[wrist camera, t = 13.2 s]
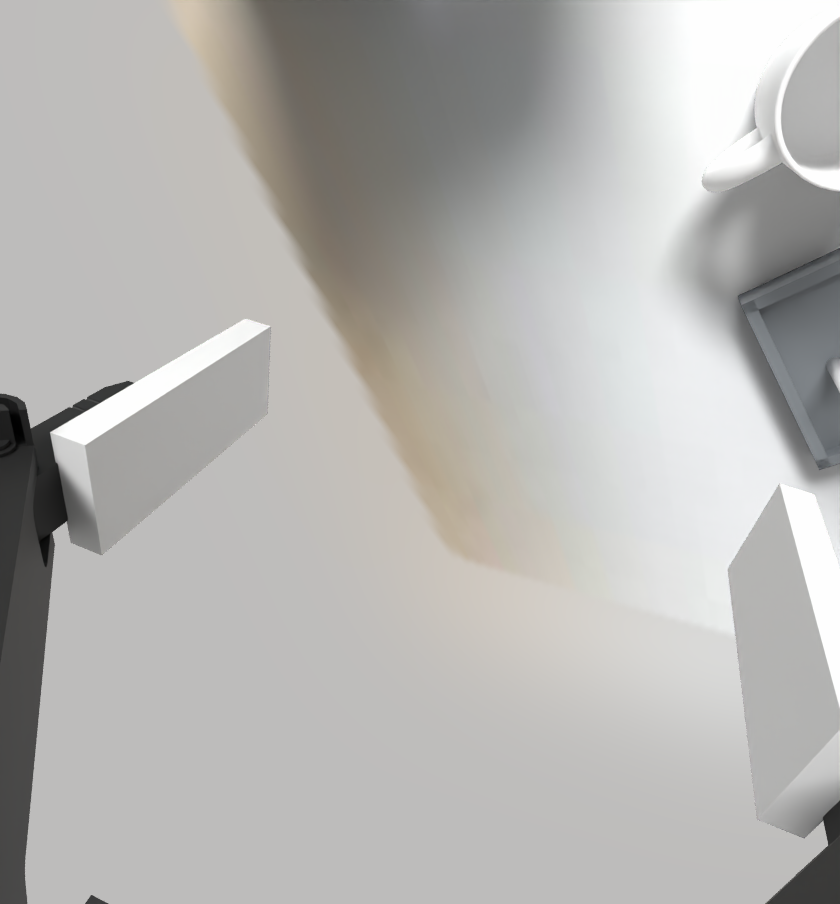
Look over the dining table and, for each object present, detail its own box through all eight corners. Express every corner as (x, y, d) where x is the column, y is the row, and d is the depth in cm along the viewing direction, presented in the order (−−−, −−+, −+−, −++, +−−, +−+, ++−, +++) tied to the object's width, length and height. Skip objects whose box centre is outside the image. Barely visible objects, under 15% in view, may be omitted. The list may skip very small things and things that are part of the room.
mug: (726, 227, 43) (740, 265, 34) (669, 114, 41) (668, 125, 32) (939, 109, 36) (1019, 120, 28) (883, -32, 34) (952, -66, 26)
